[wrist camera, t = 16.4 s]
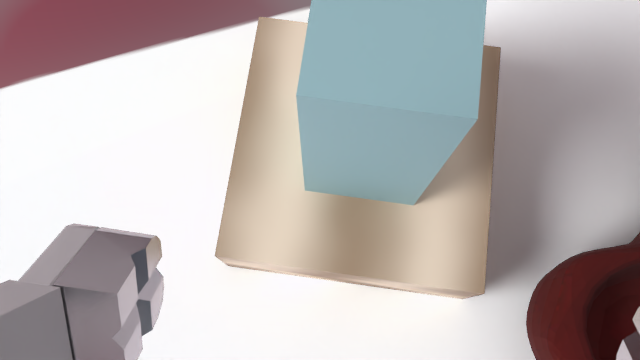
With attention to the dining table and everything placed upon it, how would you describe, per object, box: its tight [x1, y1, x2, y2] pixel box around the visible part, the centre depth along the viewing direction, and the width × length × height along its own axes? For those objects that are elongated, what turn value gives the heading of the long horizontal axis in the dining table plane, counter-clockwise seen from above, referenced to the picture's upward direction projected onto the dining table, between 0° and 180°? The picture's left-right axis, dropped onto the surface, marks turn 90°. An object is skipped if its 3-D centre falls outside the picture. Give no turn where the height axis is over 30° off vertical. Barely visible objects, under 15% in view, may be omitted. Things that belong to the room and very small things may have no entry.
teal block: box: [296, 0, 487, 205], centre depth 22 cm, size 5×5×11 cm
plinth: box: [215, 17, 501, 299], centre depth 29 cm, size 12×12×4 cm
